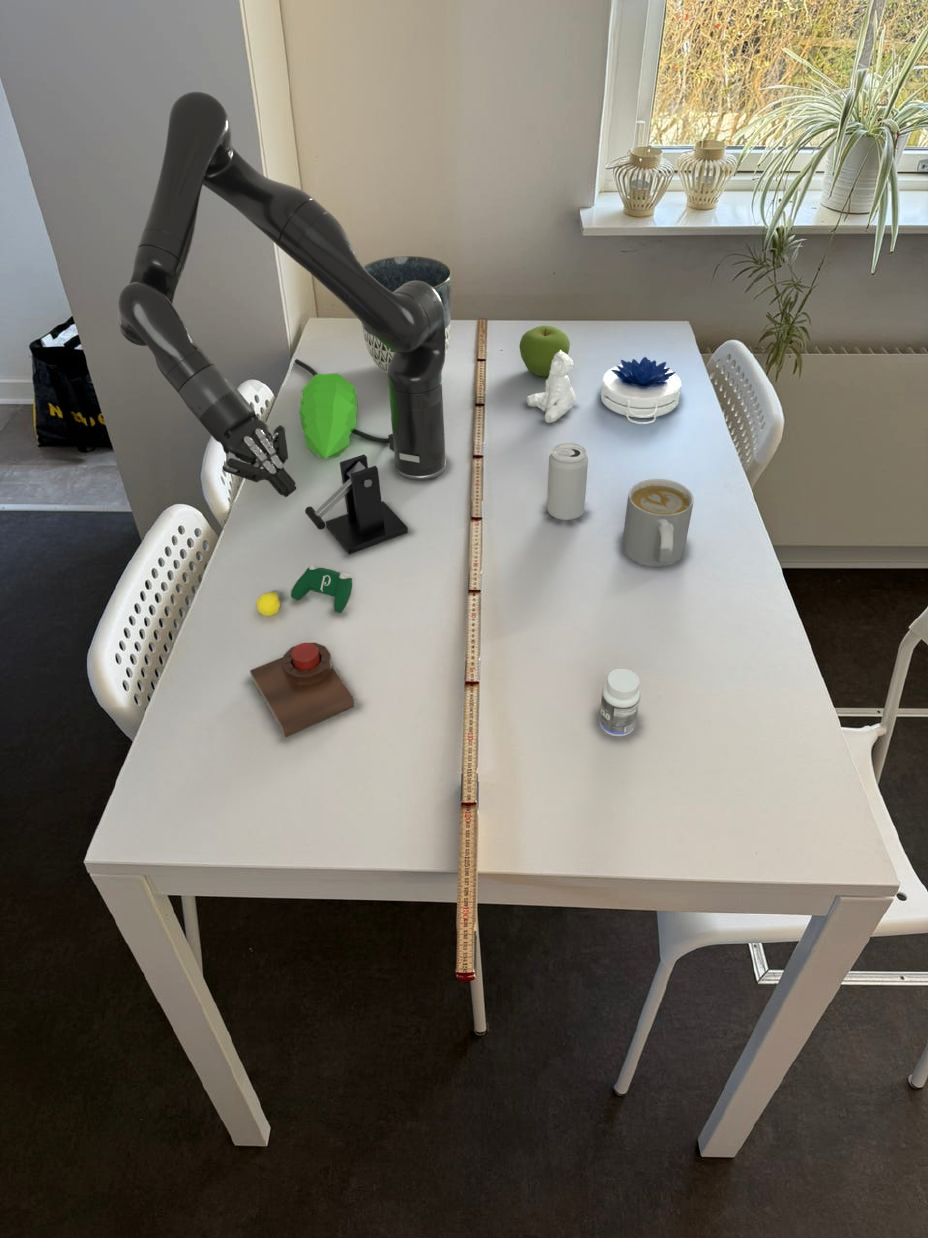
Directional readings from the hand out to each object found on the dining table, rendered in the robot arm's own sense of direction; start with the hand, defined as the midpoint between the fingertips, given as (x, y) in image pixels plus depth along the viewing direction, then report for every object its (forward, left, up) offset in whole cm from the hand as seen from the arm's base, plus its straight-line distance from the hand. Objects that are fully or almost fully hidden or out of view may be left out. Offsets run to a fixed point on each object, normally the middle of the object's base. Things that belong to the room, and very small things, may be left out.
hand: (291, 492), depth 135 cm
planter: (-45, +44, -11) cm, 64 cm away
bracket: (+1, +11, -11) cm, 16 cm away
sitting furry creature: (-15, +61, -11) cm, 64 cm away
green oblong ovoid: (-27, +17, -11) cm, 34 cm away
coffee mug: (+32, +47, -11) cm, 58 cm away
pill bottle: (+57, +20, -11) cm, 62 cm away
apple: (-29, +68, -11) cm, 75 cm away
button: (+28, -11, -7) cm, 31 cm away
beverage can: (+15, +42, -11) cm, 46 cm away
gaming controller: (+13, -2, -11) cm, 17 cm away
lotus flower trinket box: (-7, +77, -11) cm, 78 cm away
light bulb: (+11, -10, -11) cm, 19 cm away
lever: (+1, +8, -3) cm, 9 cm away
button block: (+30, -13, -11) cm, 35 cm away
